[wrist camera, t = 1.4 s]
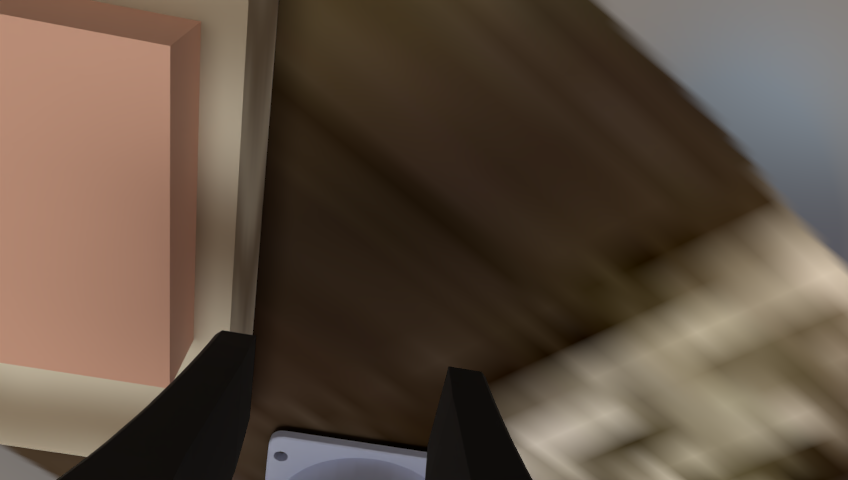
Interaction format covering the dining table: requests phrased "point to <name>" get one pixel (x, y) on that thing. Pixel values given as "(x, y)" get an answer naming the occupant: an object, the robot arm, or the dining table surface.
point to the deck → (215, 230)
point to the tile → (98, 188)
